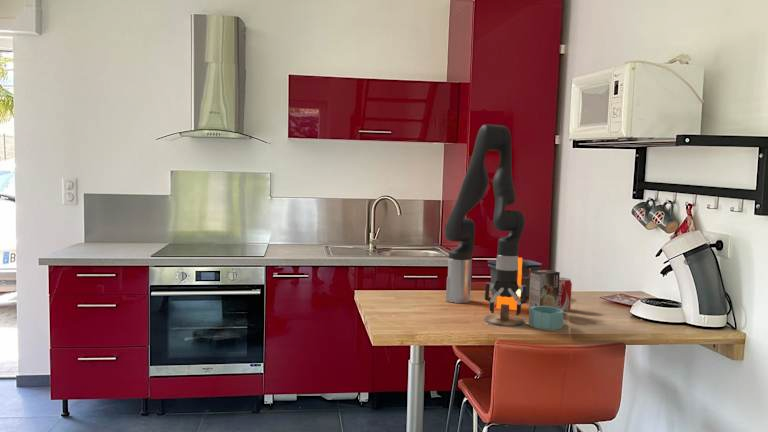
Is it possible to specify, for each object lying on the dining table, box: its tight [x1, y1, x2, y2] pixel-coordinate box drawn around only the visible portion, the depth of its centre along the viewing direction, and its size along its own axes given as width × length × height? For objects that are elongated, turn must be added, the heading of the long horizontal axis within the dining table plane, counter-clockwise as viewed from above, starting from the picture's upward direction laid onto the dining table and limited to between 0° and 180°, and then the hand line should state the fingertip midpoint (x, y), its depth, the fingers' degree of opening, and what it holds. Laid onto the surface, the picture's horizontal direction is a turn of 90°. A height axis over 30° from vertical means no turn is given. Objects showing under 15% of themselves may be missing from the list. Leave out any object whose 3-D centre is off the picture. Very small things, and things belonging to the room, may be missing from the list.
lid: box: [486, 304, 523, 327], centre depth 222 cm, size 13×13×6 cm
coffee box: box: [528, 269, 561, 312], centre depth 237 cm, size 9×6×16 cm
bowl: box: [528, 306, 565, 331], centre depth 219 cm, size 11×11×6 cm
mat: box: [483, 314, 526, 329], centre depth 223 cm, size 14×14×1 cm
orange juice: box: [495, 257, 523, 311], centre depth 244 cm, size 8×9×20 cm
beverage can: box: [558, 277, 573, 312], centre depth 245 cm, size 6×6×12 cm
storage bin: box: [487, 259, 543, 298], centre depth 267 cm, size 21×16×14 cm
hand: (505, 313), depth 222 cm, fingers open, 8 cm apart
